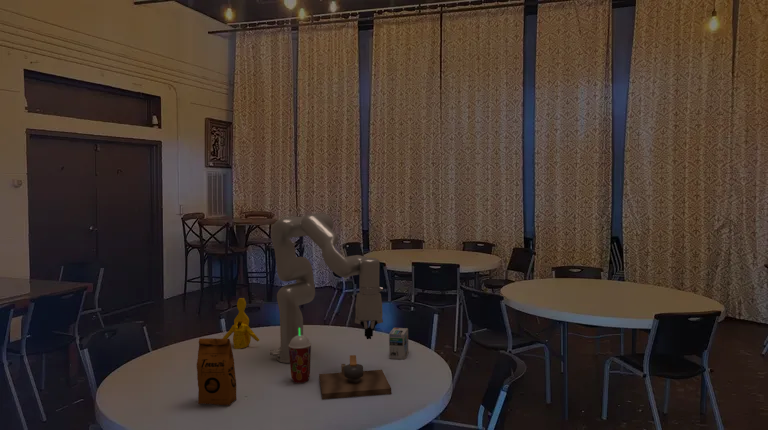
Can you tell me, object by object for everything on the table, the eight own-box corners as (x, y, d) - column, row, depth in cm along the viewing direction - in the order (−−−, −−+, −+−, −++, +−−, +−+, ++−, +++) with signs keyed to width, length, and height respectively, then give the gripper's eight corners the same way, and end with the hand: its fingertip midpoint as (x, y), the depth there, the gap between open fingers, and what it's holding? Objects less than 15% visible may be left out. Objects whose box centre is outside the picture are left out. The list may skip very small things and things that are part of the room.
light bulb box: (404, 359, 228) (404, 334, 227) (389, 359, 229) (388, 333, 229) (408, 352, 238) (408, 327, 238) (393, 351, 240) (393, 327, 239)
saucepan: (363, 378, 195) (363, 368, 195) (344, 379, 195) (344, 369, 194) (362, 364, 211) (361, 354, 210) (343, 364, 210) (343, 355, 210)
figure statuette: (219, 349, 247) (217, 301, 245) (224, 344, 254) (223, 297, 253) (258, 349, 246) (257, 300, 245) (262, 344, 254) (261, 297, 253)
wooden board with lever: (322, 399, 187) (321, 385, 187) (319, 378, 207) (319, 365, 207) (391, 393, 191) (391, 379, 190) (381, 373, 211) (381, 361, 211)
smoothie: (315, 377, 208) (314, 326, 207) (305, 385, 200) (304, 331, 199) (296, 375, 211) (294, 324, 210) (285, 383, 203) (283, 329, 202)
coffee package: (229, 408, 180) (227, 342, 179) (193, 407, 182) (191, 341, 181) (241, 397, 190) (239, 334, 189) (207, 395, 192) (205, 333, 191)
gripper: (387, 288, 212) (386, 334, 213) (348, 288, 210) (348, 335, 211) (390, 292, 204) (389, 340, 206) (350, 293, 202) (349, 341, 204)
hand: (368, 338), depth 208 cm, fingers closed
